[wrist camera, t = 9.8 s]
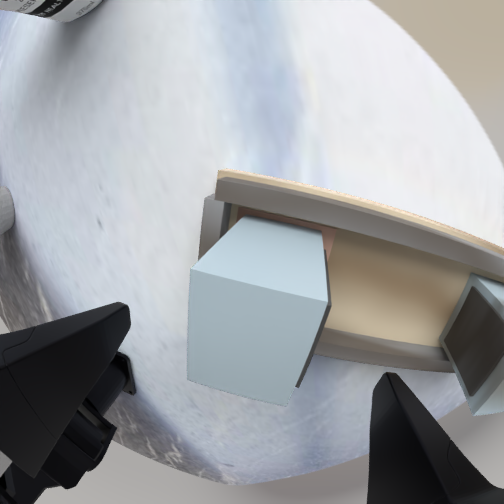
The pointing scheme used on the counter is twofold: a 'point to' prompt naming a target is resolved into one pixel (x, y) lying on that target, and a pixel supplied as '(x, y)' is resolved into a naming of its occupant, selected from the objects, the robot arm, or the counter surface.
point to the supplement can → (51, 8)
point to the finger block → (258, 309)
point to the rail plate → (388, 281)
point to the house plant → (6, 210)
